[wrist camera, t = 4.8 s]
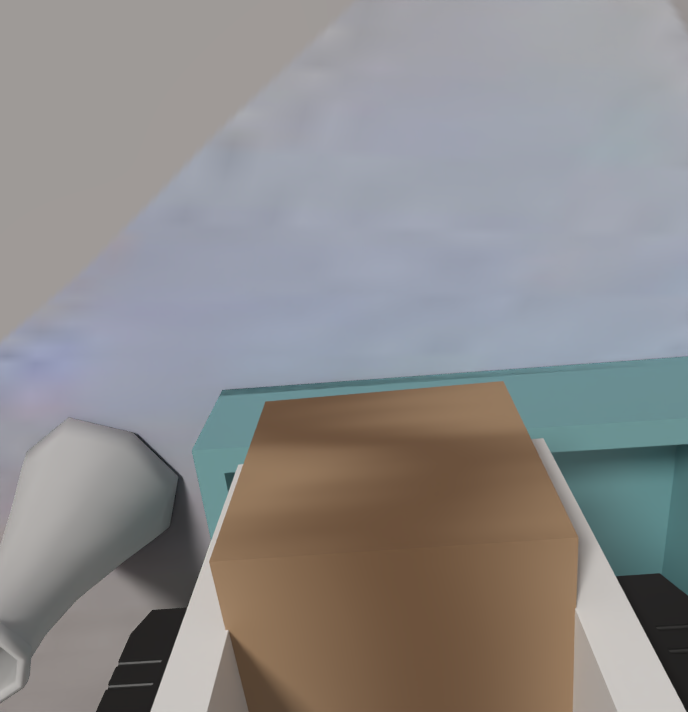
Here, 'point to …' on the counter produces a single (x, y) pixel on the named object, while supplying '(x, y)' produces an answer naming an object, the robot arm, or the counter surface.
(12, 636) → the flask
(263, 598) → the walnut cube
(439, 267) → the counter surface
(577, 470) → the tote
